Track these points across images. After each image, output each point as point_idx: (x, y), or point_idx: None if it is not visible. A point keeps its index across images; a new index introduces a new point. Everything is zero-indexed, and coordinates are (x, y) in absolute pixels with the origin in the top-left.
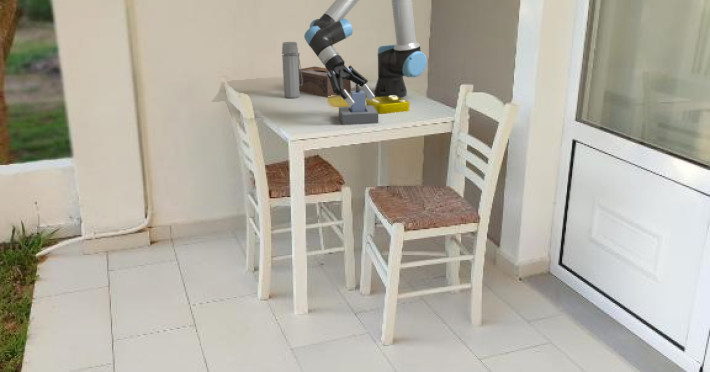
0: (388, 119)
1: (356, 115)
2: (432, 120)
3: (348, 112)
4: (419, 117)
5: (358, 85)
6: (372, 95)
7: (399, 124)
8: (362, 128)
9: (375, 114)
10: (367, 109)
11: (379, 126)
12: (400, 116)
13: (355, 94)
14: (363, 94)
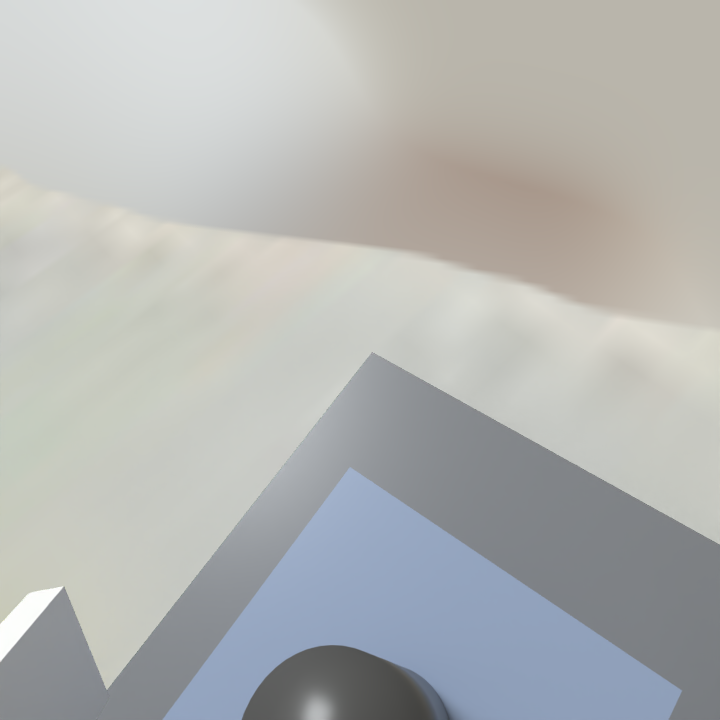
0: (207, 447)
1: (642, 510)
2: (59, 208)
3: (697, 711)
4: (12, 320)
5: (364, 654)
6: (49, 618)
7: (298, 260)
8: (672, 357)
9: (402, 377)
10: None
11: (476, 311)
12: (45, 453)
13: (578, 624)
14: (384, 498)
